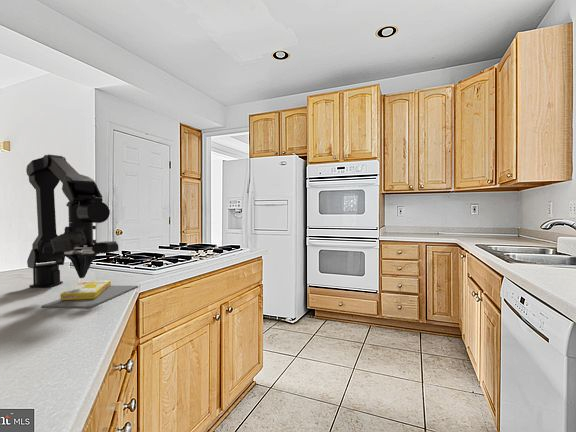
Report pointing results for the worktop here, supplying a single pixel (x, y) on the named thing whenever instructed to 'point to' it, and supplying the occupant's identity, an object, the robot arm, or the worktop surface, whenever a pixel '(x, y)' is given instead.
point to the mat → (89, 303)
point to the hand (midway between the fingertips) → (82, 277)
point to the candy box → (85, 290)
